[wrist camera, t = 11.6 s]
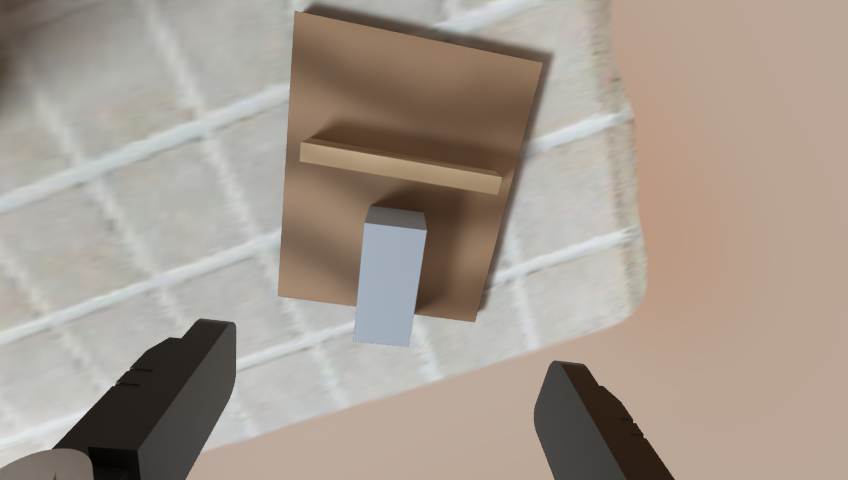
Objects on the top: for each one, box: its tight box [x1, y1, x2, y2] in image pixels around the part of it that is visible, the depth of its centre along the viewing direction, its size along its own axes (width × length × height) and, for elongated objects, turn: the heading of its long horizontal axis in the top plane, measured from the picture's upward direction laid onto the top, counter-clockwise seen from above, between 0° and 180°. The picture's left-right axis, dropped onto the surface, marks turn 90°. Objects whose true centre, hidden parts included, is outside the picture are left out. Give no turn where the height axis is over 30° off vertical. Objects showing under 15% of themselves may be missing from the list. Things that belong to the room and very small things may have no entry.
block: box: [353, 206, 427, 347], centre depth 29 cm, size 4×4×9 cm
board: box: [278, 11, 543, 322], centre depth 28 cm, size 20×16×4 cm
